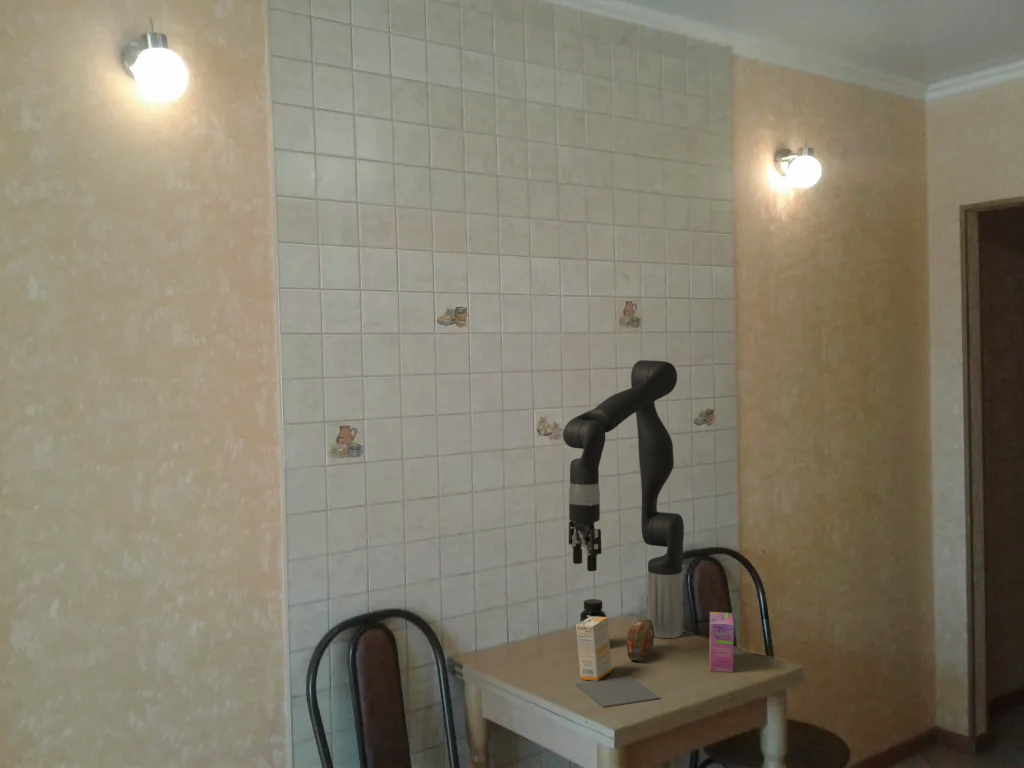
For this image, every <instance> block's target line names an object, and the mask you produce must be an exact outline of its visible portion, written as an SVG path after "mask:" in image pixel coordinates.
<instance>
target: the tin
mask: <svg viewBox="0 0 1024 768" xmlns="http://www.w3.org/2000/svg"><path fill="white" fill-rule="evenodd" d="M654 640H655V636H654V629H653V624H652V622H651V620H649V619H648V620H647V619H639V620H638V621H636V622H635V623H634V624H632V626H630V628H629V629H628V630H627V634H626V649H627V650H626V651H627V657H628V658H629V660H630V661H639V662H642V661H643V660H644V659H645V658H646V657H648V655H649V654H650V653H651V652H652V650H653V647H654Z"/></svg>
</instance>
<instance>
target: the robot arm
mask: <svg viewBox="0 0 1024 768" xmlns="http://www.w3.org/2000/svg"><path fill="white" fill-rule="evenodd" d="M630 383H631V388H628V389H625V390H623V391H620V392H617V393H614V394H613V395H611V396H609V397H607V398H606V399H605V400H603V401H602V402H601V403H599V404H598V405H596V407H595V408H593V409H590V410H588V411H586V412H584V413H581V414H579V415H578V416H574V417H573V418H572V419H571V420H569V421H568V422H567V423H566V425H565V427H564V428H563V431H562V438H563V441H564V443H565V445H567V446H568V447H569V448H573V449H580V450H581V449H582V450H583V451H582V455H581V457H579V458H574V459H572V460H571V461H570V465H569V491H568V518H569V521H568V545H571V549H572V563H573V564H575V565H579V564H582V563H583V548H584V549H585V550H586V555H587V556H586V570H587V571H588V572H596V571H597V567H598V565H597V564H598V563H597V562H598V560H597V557H598V555H602V530H601V529H600V528H595V523H596V522H599V521H600V520H601V513H600V512H601V504H600V503H601V502H600V500H601V497H600V496H601V494H600V485H599V484H600V483H599V478H600V477H599V474H600V473H599V472H600V470H599V466H600V462H601V459H602V454H603V450H604V448H605V442H606V433H609V432H611V431H613V430H614V429H616V427H618V426H619V425H620V424H621V423H623V422H624V421H625V420H626V419H628V418H629V417H631V416H632V415H634V414H635V417H636V426H637V441H638V442H637V443H638V462H639V471H640V472H639V473H640V482H641V483H640V485H641V515H640V516H641V518H640V519H641V524H640V525H641V536H642V540H643V542H644V543H645V544H646V545H648V546H655V547H665V548H666V553H665V554H663V555H661V556H657V557H653V558H650V559H649V560H648V562H647V598H646V599H647V601H646V603H647V605H646V607H647V609H646V610H647V614H646V615H647V619H646V620H648V619H649V620H651V622H652V624H653V629H654V638H660V639H674V638H679V637H681V636H682V635H683V561H684V538H685V537H684V536H685V523H684V519H683V517H682V516H681V514H679V513H675V512H674V513H673V512H663V511H658V506H657V505H658V498H659V495H660V493H661V491H662V489H663V487H664V485H665V484H666V482H667V481H668V478H669V477H670V475H671V473H672V471H673V469H674V465H675V460H674V459H675V458H674V446H673V445H674V444H673V440H672V438H671V436H670V433H669V432H668V430H667V428H666V426H665V425H664V423H663V422H662V420H661V418H660V416H659V415H658V414H659V413H658V412H657V409H656V408H657V407H656V405H655V402H656V401H658V400H659V399H661V398H663V397H666V396H668V395H669V394H671V392H673V390H674V389H675V387H676V385H677V383H678V371H677V369H676V367H675V366H674V365H673V363H671V362H668V361H666V360H665V361H664V360H650V359H649V360H648V359H647V360H645V359H644V360H643V359H642V360H638V361H636V362H635V363H634V364H633V366H632V368H631V373H630Z"/></svg>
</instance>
